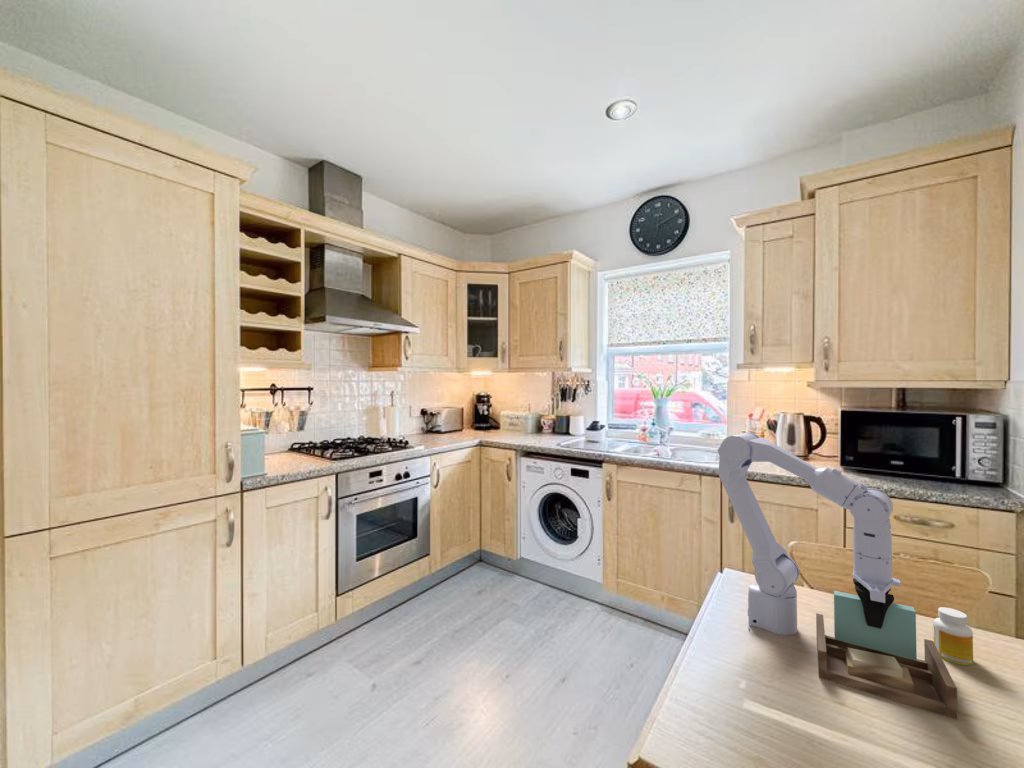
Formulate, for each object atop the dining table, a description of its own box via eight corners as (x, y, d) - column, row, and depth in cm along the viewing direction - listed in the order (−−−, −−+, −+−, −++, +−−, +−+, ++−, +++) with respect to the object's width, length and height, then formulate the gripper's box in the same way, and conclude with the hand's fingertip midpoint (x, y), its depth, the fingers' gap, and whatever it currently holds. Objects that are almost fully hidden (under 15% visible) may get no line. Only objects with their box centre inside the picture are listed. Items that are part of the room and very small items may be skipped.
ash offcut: (853, 667, 78) (853, 659, 78) (847, 655, 82) (847, 647, 82) (902, 678, 75) (902, 670, 75) (894, 665, 79) (894, 657, 79)
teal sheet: (835, 639, 85) (834, 594, 85) (834, 634, 87) (833, 590, 87) (916, 660, 78) (915, 611, 78) (914, 654, 80) (913, 607, 80)
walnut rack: (818, 682, 78) (818, 649, 78) (816, 641, 90) (816, 613, 90) (957, 725, 68) (956, 688, 68) (933, 672, 80) (933, 640, 80)
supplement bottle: (981, 672, 80) (981, 621, 80) (948, 669, 81) (947, 618, 81) (958, 654, 86) (957, 606, 86) (926, 651, 87) (926, 604, 87)
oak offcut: (847, 673, 79) (847, 665, 79) (845, 659, 83) (845, 651, 83) (913, 692, 74) (913, 684, 74) (907, 676, 78) (907, 668, 78)
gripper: (907, 572, 74) (908, 649, 74) (893, 545, 86) (893, 612, 86) (855, 563, 78) (856, 636, 78) (848, 538, 90) (849, 602, 90)
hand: (873, 623), depth 83 cm, fingers closed on teal sheet, 2 cm apart
